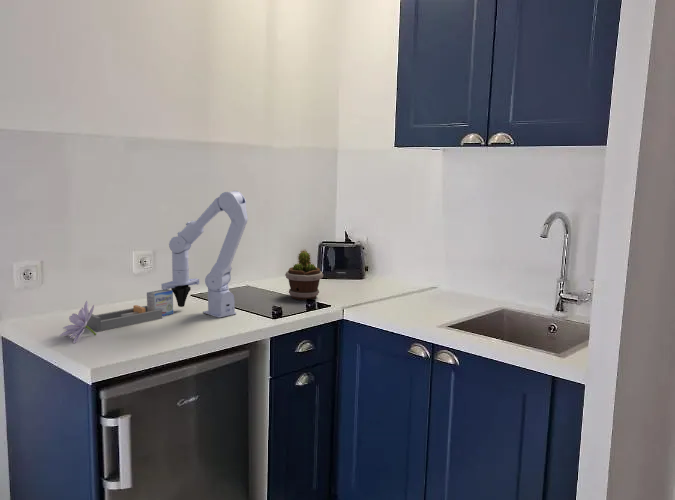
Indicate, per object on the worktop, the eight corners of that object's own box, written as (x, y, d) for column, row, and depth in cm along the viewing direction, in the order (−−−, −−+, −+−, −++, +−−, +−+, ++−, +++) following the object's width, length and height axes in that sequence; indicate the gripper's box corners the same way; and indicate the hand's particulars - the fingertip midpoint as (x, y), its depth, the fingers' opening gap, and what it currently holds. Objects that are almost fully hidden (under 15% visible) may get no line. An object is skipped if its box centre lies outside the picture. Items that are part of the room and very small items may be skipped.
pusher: (145, 319, 202) (145, 308, 202) (125, 323, 197) (125, 311, 197) (136, 316, 206) (136, 305, 206) (117, 320, 201) (116, 308, 200)
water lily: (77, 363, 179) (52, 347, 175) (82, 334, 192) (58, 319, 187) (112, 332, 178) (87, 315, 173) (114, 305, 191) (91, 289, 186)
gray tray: (162, 318, 205) (162, 305, 205) (97, 331, 189) (96, 318, 188) (148, 313, 211) (148, 301, 211) (84, 326, 194) (83, 312, 194)
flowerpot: (322, 302, 234) (323, 251, 231) (283, 301, 234) (283, 250, 231) (323, 293, 248) (324, 246, 245) (286, 293, 248) (287, 245, 245)
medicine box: (154, 318, 205) (154, 293, 204) (147, 316, 208) (146, 291, 207) (173, 314, 212) (173, 290, 210) (165, 311, 214) (165, 288, 213)
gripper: (191, 265, 222) (191, 301, 224) (156, 270, 211) (157, 307, 213) (202, 268, 217) (202, 304, 219) (167, 273, 207) (168, 311, 209)
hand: (181, 306), depth 216 cm, fingers closed
